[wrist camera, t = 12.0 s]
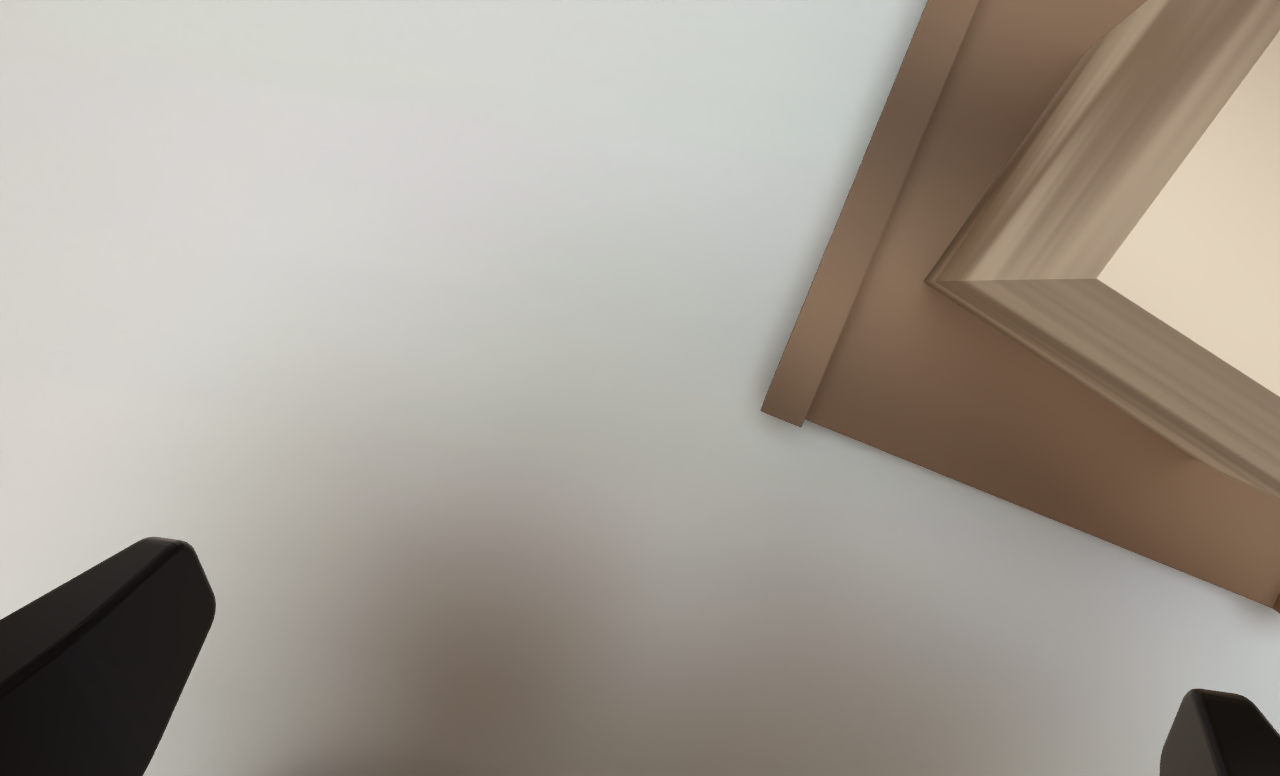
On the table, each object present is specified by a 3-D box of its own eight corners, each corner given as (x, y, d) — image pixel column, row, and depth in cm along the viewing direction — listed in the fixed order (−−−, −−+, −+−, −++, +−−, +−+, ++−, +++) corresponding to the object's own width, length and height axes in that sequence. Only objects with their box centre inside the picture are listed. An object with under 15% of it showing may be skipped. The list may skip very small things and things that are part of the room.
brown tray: (1285, 605, 20) (1354, 651, 18) (766, 395, 22) (760, 410, 19) (1560, 66, 19) (1678, 32, 16) (980, -128, 20) (1005, -188, 17)
